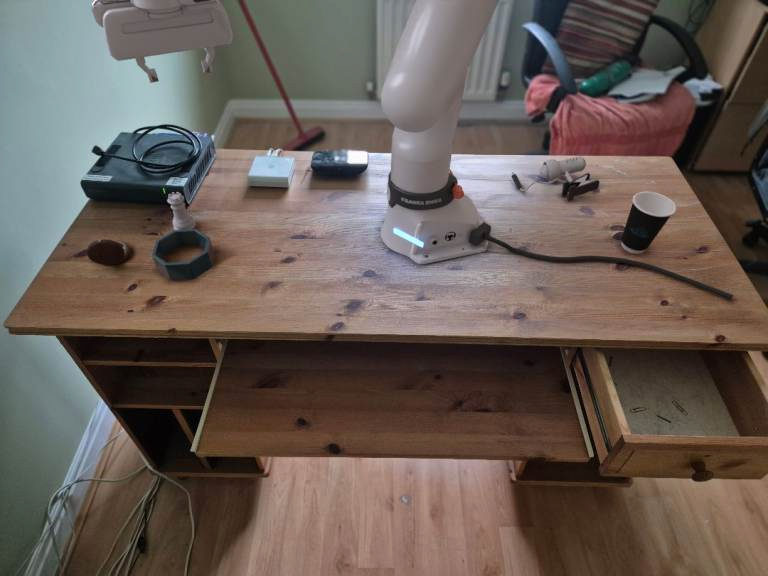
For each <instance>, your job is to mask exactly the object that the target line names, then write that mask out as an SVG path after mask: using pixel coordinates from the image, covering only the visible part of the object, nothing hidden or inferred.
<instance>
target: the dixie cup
mask: <svg viewBox="0 0 768 576" xmlns="http://www.w3.org/2000/svg"><path fill="white" fill-rule="evenodd" d="M676 211H677V206H676V204H675V202H674V201H673V200H672V199H671V198H669V197H668V196H666V195H664V194H661V193H658V192H655V191H640V192H637V193H635V194H634V195H633V197H632V204H631V207H630V209H629V214H628V217H627V219H626V223H625V226H624V229H623V232H622V235H621V238H620V239H621V241H620V245H621V247H622V248H623V250H625V251H627V252H628V253H631V254H636V255H639V254H643V253H644V252H645V251H646V250H647V249H648V248H649V247H650V246H651V244H652V243H653V242H654V240H655V239H656V237H657V236H658V234H659V233H660V232H661V230H663V227H664V226H665V225H666V223H667V222H668V221H669V219H670V218H671V216H672V215H674V214H675V213H676Z"/></svg>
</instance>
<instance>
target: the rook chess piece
mask: <svg viewBox="0 0 768 576" xmlns="http://www.w3.org/2000/svg"><path fill="white" fill-rule="evenodd" d="M184 201H185V196H184V195H182V193H181V192H179V191H176V193H175V191H173V192H171V193H169V194H168V196H167V200H166V202H167V203H168V204H170V208H171V209H172V212H173V218H172V226H173V229H174V231H175V230H187V229H195V227H196V221H195V219H194V216H193V215H191V214H190V213H189V212H188V210H187V209H186V203H185V202H184Z"/></svg>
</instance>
